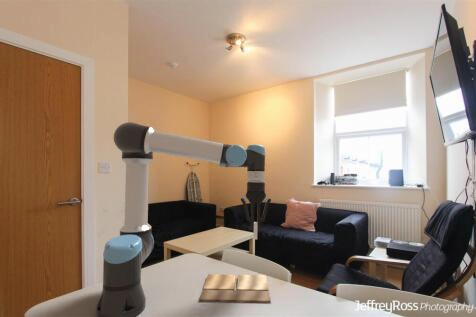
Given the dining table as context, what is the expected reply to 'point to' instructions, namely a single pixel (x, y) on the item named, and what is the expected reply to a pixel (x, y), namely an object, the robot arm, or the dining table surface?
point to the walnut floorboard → (235, 296)
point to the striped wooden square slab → (220, 282)
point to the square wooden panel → (252, 283)
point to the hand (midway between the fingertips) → (255, 238)
